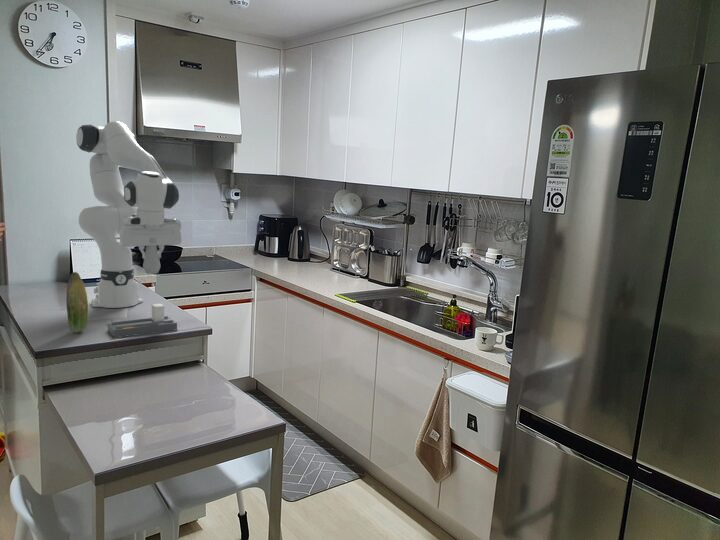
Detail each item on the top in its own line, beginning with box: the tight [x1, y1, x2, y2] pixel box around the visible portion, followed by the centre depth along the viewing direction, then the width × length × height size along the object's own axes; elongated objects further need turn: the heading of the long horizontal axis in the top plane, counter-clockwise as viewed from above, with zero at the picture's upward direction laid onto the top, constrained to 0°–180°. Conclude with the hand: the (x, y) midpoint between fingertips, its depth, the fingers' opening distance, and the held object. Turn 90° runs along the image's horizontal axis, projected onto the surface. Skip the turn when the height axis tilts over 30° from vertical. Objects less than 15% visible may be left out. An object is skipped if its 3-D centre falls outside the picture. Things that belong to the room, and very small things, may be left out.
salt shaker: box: [142, 238, 161, 275], centre depth 188 cm, size 6×6×13 cm
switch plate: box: [107, 315, 178, 338], centre depth 180 cm, size 9×20×3 cm, turn 126°
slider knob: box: [151, 303, 165, 321], centre depth 183 cm, size 4×3×5 cm
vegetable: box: [65, 271, 89, 334], centre depth 173 cm, size 6×6×20 cm
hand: (151, 258), depth 189 cm, fingers closed on salt shaker, 3 cm apart
